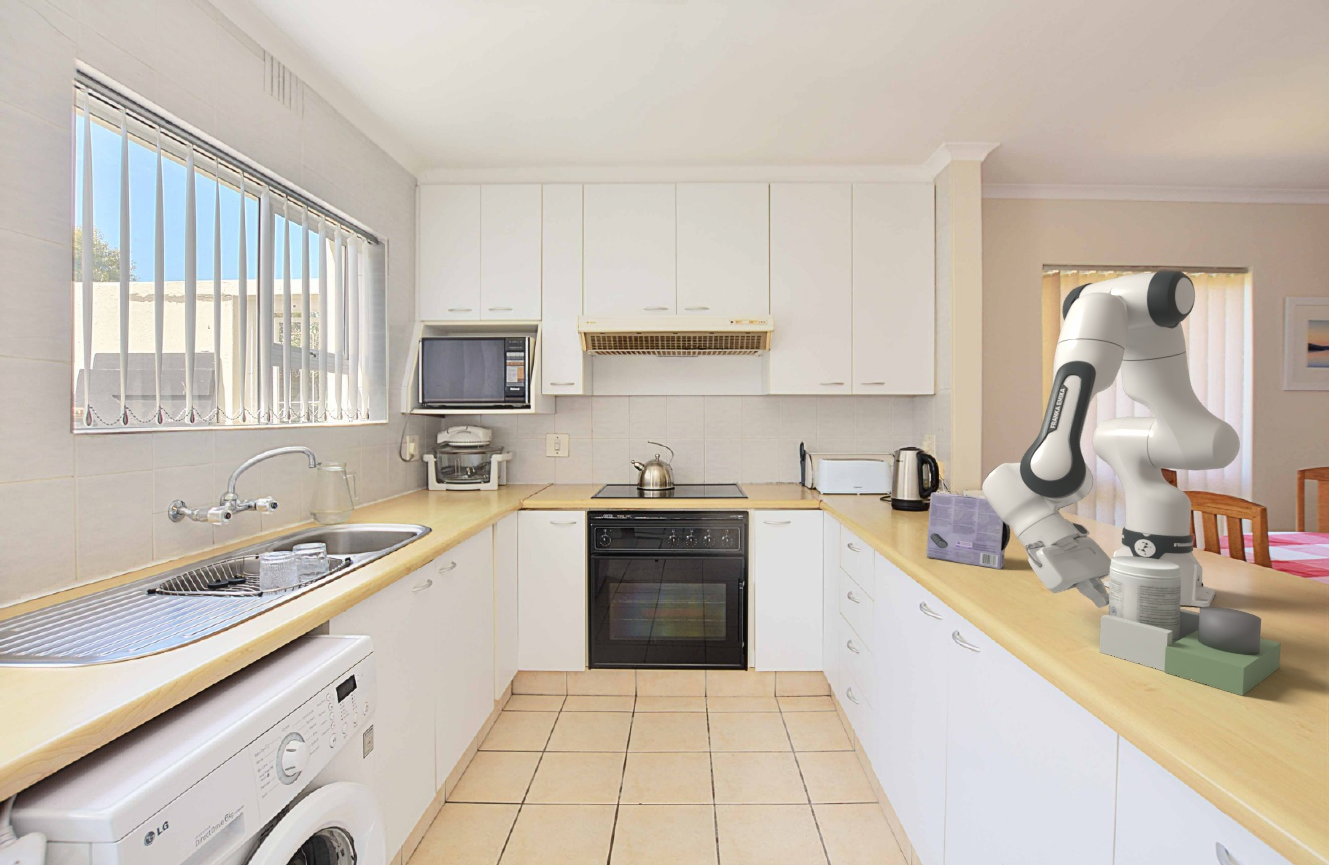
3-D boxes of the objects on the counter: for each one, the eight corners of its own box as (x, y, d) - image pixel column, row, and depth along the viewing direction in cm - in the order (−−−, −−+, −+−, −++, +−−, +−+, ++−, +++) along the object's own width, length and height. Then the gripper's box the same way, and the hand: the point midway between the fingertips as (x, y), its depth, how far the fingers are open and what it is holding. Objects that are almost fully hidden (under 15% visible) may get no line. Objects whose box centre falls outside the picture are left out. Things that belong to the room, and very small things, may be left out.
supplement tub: (1186, 651, 104) (1191, 564, 103) (1167, 664, 98) (1172, 572, 97) (1118, 633, 111) (1122, 552, 111) (1097, 644, 106) (1101, 559, 105)
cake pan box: (1009, 567, 159) (1012, 498, 158) (1005, 570, 155) (1008, 500, 154) (931, 555, 171) (933, 491, 170) (925, 558, 167) (927, 493, 166)
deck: (1142, 632, 112) (1144, 583, 112) (1279, 667, 97) (1282, 611, 97) (1097, 652, 102) (1100, 599, 102) (1242, 695, 87) (1245, 633, 87)
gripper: (1034, 535, 109) (1094, 605, 101) (1088, 525, 120) (1146, 587, 113) (1008, 555, 113) (1063, 624, 105) (1062, 543, 124) (1116, 604, 116)
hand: (1106, 605), depth 109 cm, fingers closed, pressing on supplement tub
